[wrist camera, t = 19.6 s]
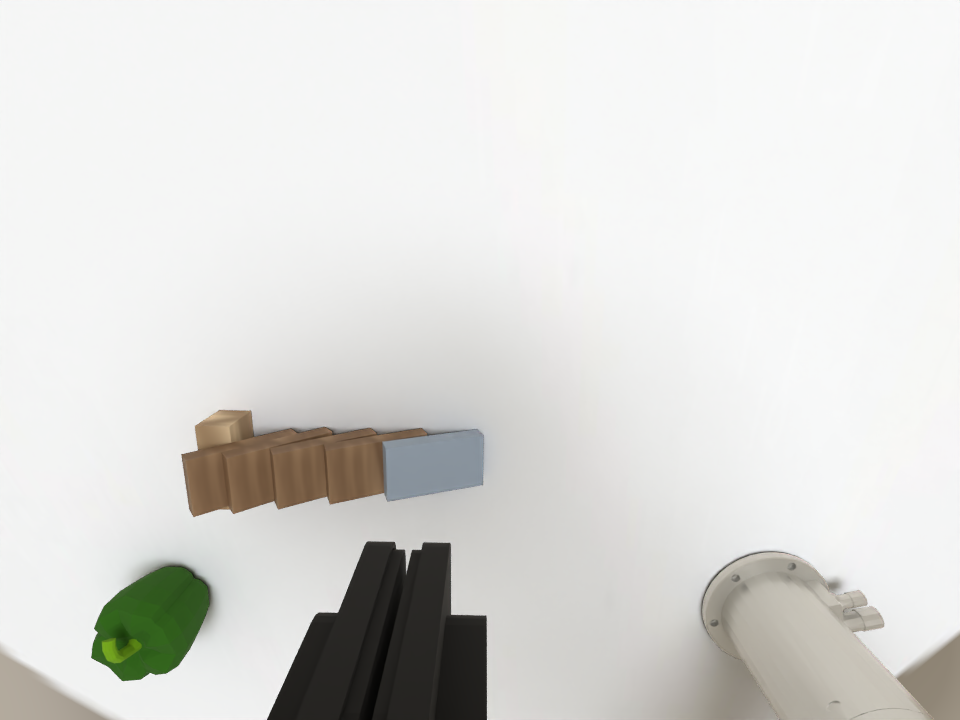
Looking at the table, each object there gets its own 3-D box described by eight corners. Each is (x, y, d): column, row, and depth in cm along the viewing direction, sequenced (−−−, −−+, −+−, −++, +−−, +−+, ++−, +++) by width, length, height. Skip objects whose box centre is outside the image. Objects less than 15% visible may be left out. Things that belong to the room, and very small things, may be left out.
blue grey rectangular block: (483, 435, 45) (385, 448, 42) (482, 484, 46) (387, 501, 43) (477, 429, 46) (382, 441, 43) (476, 477, 48) (384, 492, 44)
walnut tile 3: (332, 431, 45) (226, 458, 39) (335, 480, 46) (233, 514, 41) (324, 426, 46) (221, 452, 41) (328, 474, 48) (228, 506, 42)
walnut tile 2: (376, 433, 45) (273, 455, 40) (378, 482, 46) (278, 509, 42) (370, 427, 46) (269, 448, 42) (372, 475, 48) (274, 501, 43)
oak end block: (250, 410, 46) (229, 426, 42) (258, 487, 48) (239, 509, 44) (219, 410, 46) (194, 426, 42) (228, 487, 48) (206, 509, 44)
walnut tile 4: (297, 433, 45) (185, 461, 39) (301, 483, 46) (193, 517, 40) (290, 428, 46) (181, 454, 40) (295, 477, 47) (189, 508, 41)
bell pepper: (216, 630, 52) (154, 720, 42) (139, 611, 52) (59, 697, 42) (229, 565, 50) (167, 643, 41) (149, 544, 50) (68, 618, 40)
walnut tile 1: (427, 434, 45) (326, 450, 41) (428, 483, 46) (329, 504, 42) (421, 428, 46) (323, 443, 43) (422, 476, 48) (326, 495, 44)
